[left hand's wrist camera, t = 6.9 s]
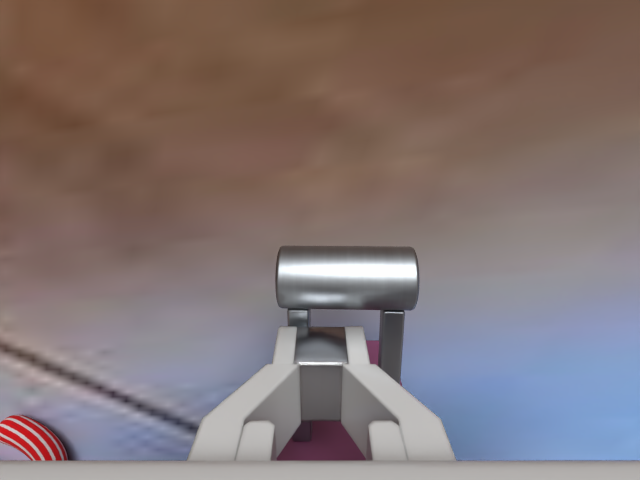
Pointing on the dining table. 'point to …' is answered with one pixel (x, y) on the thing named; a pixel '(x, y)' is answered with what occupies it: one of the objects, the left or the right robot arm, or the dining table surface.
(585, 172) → the dining table surface
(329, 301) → the drawer
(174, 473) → the left robot arm
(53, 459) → the candy cane
